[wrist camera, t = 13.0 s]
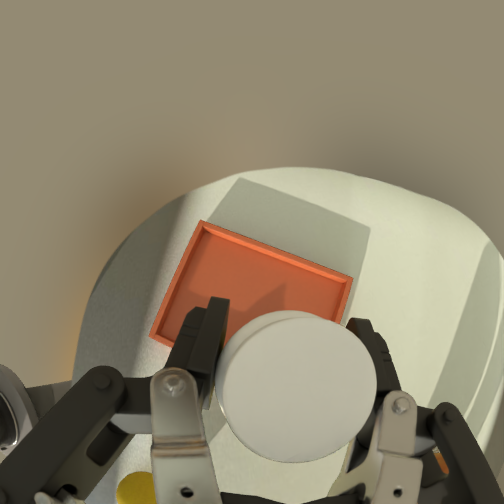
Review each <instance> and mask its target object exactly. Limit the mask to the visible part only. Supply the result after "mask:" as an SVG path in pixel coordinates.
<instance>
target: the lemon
mask: <svg viewBox="0 0 504 504" xmlns="http://www.w3.org/2000/svg"><path fill="white" fill-rule="evenodd" d="M116 498H117V501H118V504H157V503H156V496H155V489H154V482H153V474H152V473H148V472H134V473H131V474H129V475H127V476H126V477H125V478H124V479H123V480H122V481H121V482H120V484H119V486H118V488H117V492H116Z"/></svg>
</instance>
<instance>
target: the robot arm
mask: <svg viewBox="0 0 504 504" xmlns="http://www.w3.org/2000/svg"><path fill="white" fill-rule="evenodd" d="M229 307H230V299H226V298H220V297H215V296H211V298H210V300H209V303H208V306H207V308H202V307H197V306H195V307H194V308H193V309H192V310H191V311H189V312H188V313H187V314H186V317H185V319H184V321H183V324H182V326H181V328H180V331H179V334H178V335H177V338H176V340H175V343H174V345H173V348H172V350H171V352H170V355H169V357H168V360H167V362H166V364H165V366H164V368H163V369H161V370H159V371H158V372H156V373H155V374H154V375H153V376H150V377H146V378H124V377H123V376H122V375H121V373H120V372H119V371H118V370H116V369H115V368H113V367H110V366H97V367H94V368H92V369H90V370H89V371H88V372H87V373H86V374H85V375H84V376H83V377H82V378H81V379H80V380H79V381H78V382H77V383H76V384H75V385H74V386H73V387H72V388H71V389H70V390H69V391H68V392H67V393H66V394H65V395H64V396H63V397H62V398H61V399H60V400H59V401H58V402H57V403H56V404H55V405H54V406H53V407H52V408H51V410H50V411H49V412H48V413H47V414H46V415H45V416H44V417H43V418H42V419H41V420H40V421H39V422H38V423H37V424H36V425H35V426H34V427H33V429H32V430H31V431H30V432H29V433H28V434H27V435H26V436H25V437H24V438H23V439H22V440H21V441H20V443H19V444H18V445H17V446H16V447H15V448H14V449H13V450H12V451H11V453H10V454H9V455H8V456H7V457H6V458H5V459H4V460H3V461H2V463H1V464H0V504H86V503H85V502H84V501H85V499H86V498H87V497H88V496H89V494H90V493H91V492H92V490H93V489H94V488H95V487H96V485H97V484H98V483H99V481H100V480H101V479H102V478H103V476H104V475H105V474H106V472H107V471H108V470H109V468H110V467H111V466H112V465H113V463H114V462H115V461H116V459H117V458H118V457H119V455H120V454H121V453H122V451H123V450H124V449H125V447H126V446H127V445H128V444H129V442H130V441H131V440H132V438H133V437H134V436H135V434H152V445H151V464H152V473H153V482H154V489H155V496H156V503H157V504H284V503H280V502H276V501H272V500H269V499H265V498H262V497H258V496H251V495H241V494H233V493H226V492H219V488H218V484H217V480H216V476H215V471H214V467H213V462H212V458H211V453H210V449H209V446H208V443H207V441H206V437H205V432H204V426H203V421H202V415H201V412H202V409H206V410H209V407H210V403H211V398H212V394H213V390H214V385H215V382H214V379H215V371H216V365H217V361H218V358H219V356H220V353H221V351H222V350H223V346H224V342H225V337H226V331H227V324H228V315H229ZM346 328H347V329H348V330H349V331H351V332H352V333H353V334H354V335H355V336H356V337H358V338H359V339H360V341H361V342H362V343H363V344H364V346H365V347H366V349H367V350H368V352H369V354H370V356H371V358H372V361H373V364H374V367H375V371H376V380H377V387H376V396H375V401H374V404H373V407H372V410H371V413H370V415H369V417H368V419H367V421H366V422H365V424H364V426H363V427H362V428H361V430H360V431H359V432H358V433H357V435H356V436H355V437H354V438H353V439H352V440H351V441H349V445H348V449H347V452H346V455H345V459H344V462H343V465H342V468H341V472H340V474H339V476H338V478H337V479H336V480H335V482H334V483H333V485H332V486H331V488H330V490H329V492H328V495H327V497H325V498H322V499H318V500H314V501H311V502H307V503H303V504H417V503H418V504H504V497H503V495H502V493H501V490H500V488H499V486H498V483H497V481H496V479H495V477H494V475H493V473H492V471H491V468H490V466H489V464H488V462H487V460H486V458H485V456H484V454H483V453H482V451H481V449H480V447H479V445H478V443H477V441H476V439H475V438H474V436H473V434H472V432H471V430H470V429H469V427H468V425H467V423H466V422H465V420H464V418H463V417H462V415H461V413H460V412H459V410H458V409H457V407H456V406H454V405H453V404H451V403H448V402H443V403H440V404H439V405H438V406H437V407H436V408H435V409H434V410H433V409H429V408H425V407H420V406H417V404H416V402H415V400H414V399H413V397H412V396H411V395H409V394H408V393H406V392H404V391H402V390H401V387H400V383H399V380H398V377H397V374H396V371H395V367H394V364H393V362H392V358H391V356H390V354H389V350H388V347H387V344H386V342H385V340H384V339H383V338H382V337H381V335H380V334H379V333H376V332H374V330H373V327H372V325H371V322H370V320H369V319H361V318H351V319H350V320H349V321H348V324H347V326H346ZM18 441H19V426H18V422H17V418H16V415H15V413H14V410H13V408H12V406H11V404H10V402H9V401H8V399H7V398H6V396H5V395H4V394H3V392H2V391H1V390H0V449H1V450H2V451H3V450H6V449H7V448H5V447H7V446H12V445H15V444H17V442H18ZM436 446H437V447H438V449H439V451H440V453H441V455H442V457H443V459H444V461H445V463H446V465H447V467H448V470H449V473H448V474H446V473H444V472H443V471H442V469H441V467H440V465H439V463H438V461H437V459H436V457H435V455H434V453H433V451H432V449H434V448H435V447H436Z"/></svg>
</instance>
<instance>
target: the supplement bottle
mask: <svg viewBox="0 0 504 504" xmlns="http://www.w3.org/2000/svg"><path fill="white" fill-rule="evenodd" d="M214 382H215V392H216V396H217V400H218V403H219V405H220V407H221V409H222V411H223V413H224V415H225V417H226V420H227V422H228V424H229V426H230V428H231V430H232V431H233V433H234V434H235V436H236V437H237V438H238V439H239V440H240V441H241V443H243V444H244V445H245V446H246V447H247V448H248V449H250V450H251V451H253V452H254V453H256V454H258V455H260V456H262V457H265V458H267V459H270V460H273V461H278V462H285V463H303V462H309V461H313V460H317V459H320V458H323V457H325V456H328V455H330V454H332V453H334V452H335V451H337V450H339V449H340V448H342V447H343V446H345V445H346V444H347V443H348V442H349V441H351V440H352V439H353V438H354V437H355V436H356V435H357V433H358V432H359V431H360V430H361V428H362V427H363V426H364V424H365V422H366V421H367V419H368V417H369V415H370V413H371V410H372V407H373V404H374V401H375V396H376V387H377V380H376V371H375V367H374V364H373V361H372V358H371V356H370V354H369V352H368V350H367V349H366V347H365V346H364V344H363V343H362V342H361V341H360V339H359V338H358V337H356V336H355V335H354V334H353V333H352V332H351V331H349V330H348V329H347V328H345V327H343V326H341V325H339V324H337V323H335V322H333V321H330V320H326V319H323V318H321V317H319V316H316V315H314V314H311V313H308V312H303V311H295V310H284V311H275V312H271V313H267V314H264V315H261V316H259V317H257V318H255V319H253V320H251V321H250V322H249V323H247V324H246V325H244V326H243V327H242V328H241V329H239V330H238V331H237V332H236V333H235V334H234V335H233V336H232V337H231V338H230V339H229V340H228V342H227V343H226V345H225V346H224V348H223V350H222V351H221V353H220V356H219V358H218V361H217V365H216V371H215V379H214Z"/></svg>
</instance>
